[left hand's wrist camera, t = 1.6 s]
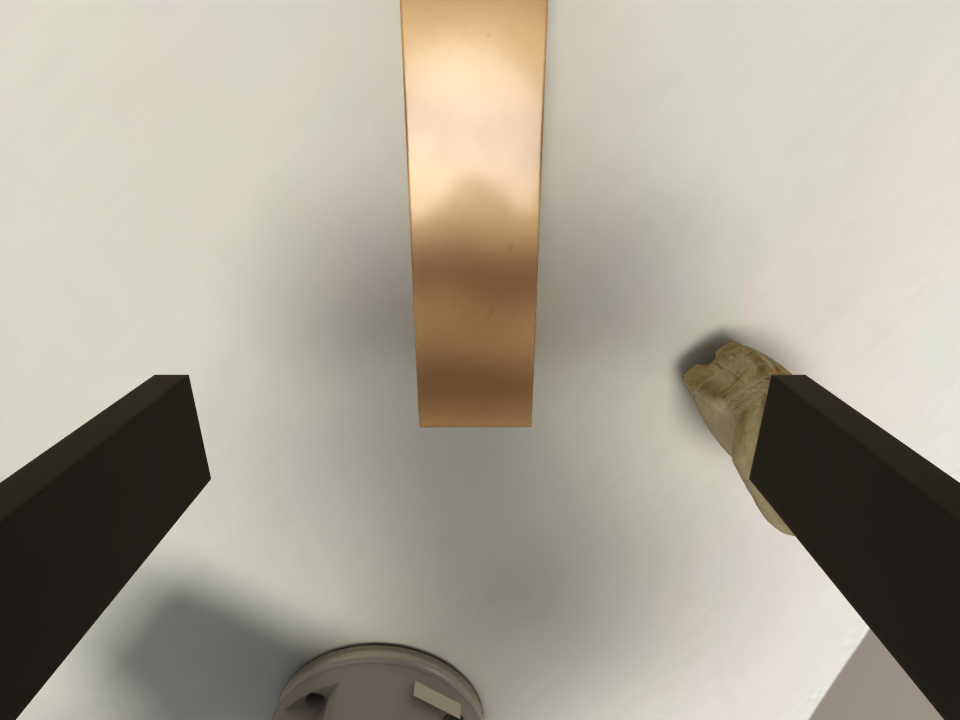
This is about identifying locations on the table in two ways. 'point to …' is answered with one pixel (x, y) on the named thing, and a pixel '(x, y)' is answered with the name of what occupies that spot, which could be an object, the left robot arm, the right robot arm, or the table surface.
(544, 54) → the bar
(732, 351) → the sculpture
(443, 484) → the table surface
